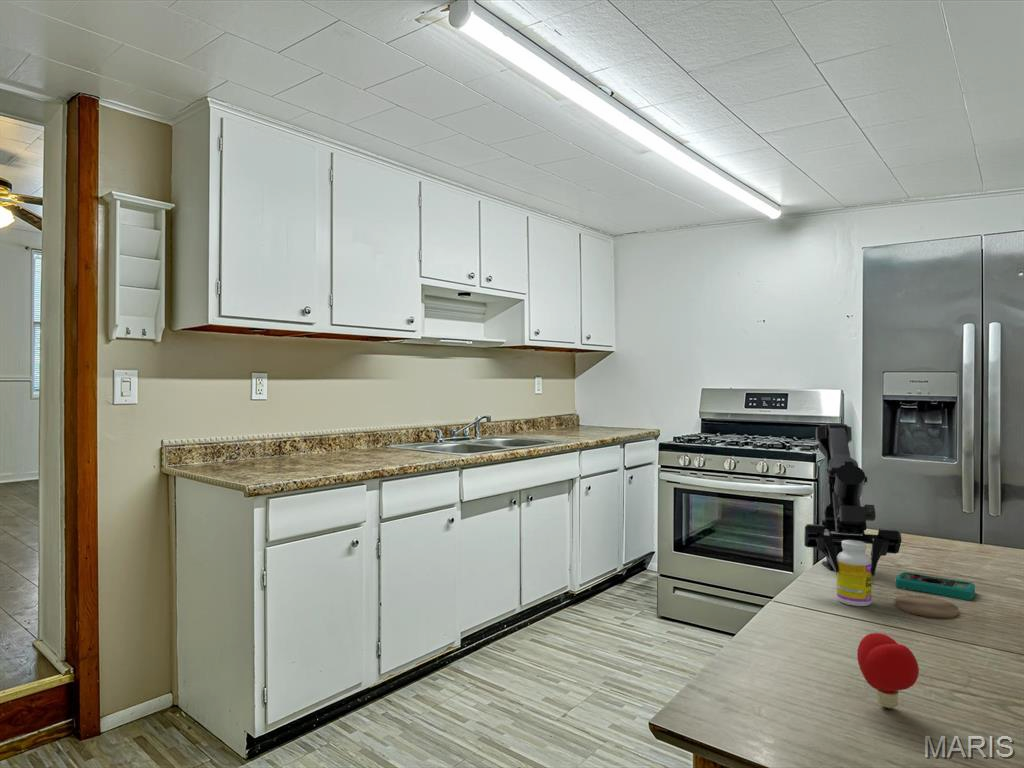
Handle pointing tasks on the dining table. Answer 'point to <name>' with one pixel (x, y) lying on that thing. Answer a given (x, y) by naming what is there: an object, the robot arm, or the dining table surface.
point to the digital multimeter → (936, 585)
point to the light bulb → (886, 667)
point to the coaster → (926, 606)
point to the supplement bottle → (854, 574)
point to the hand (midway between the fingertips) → (854, 573)
